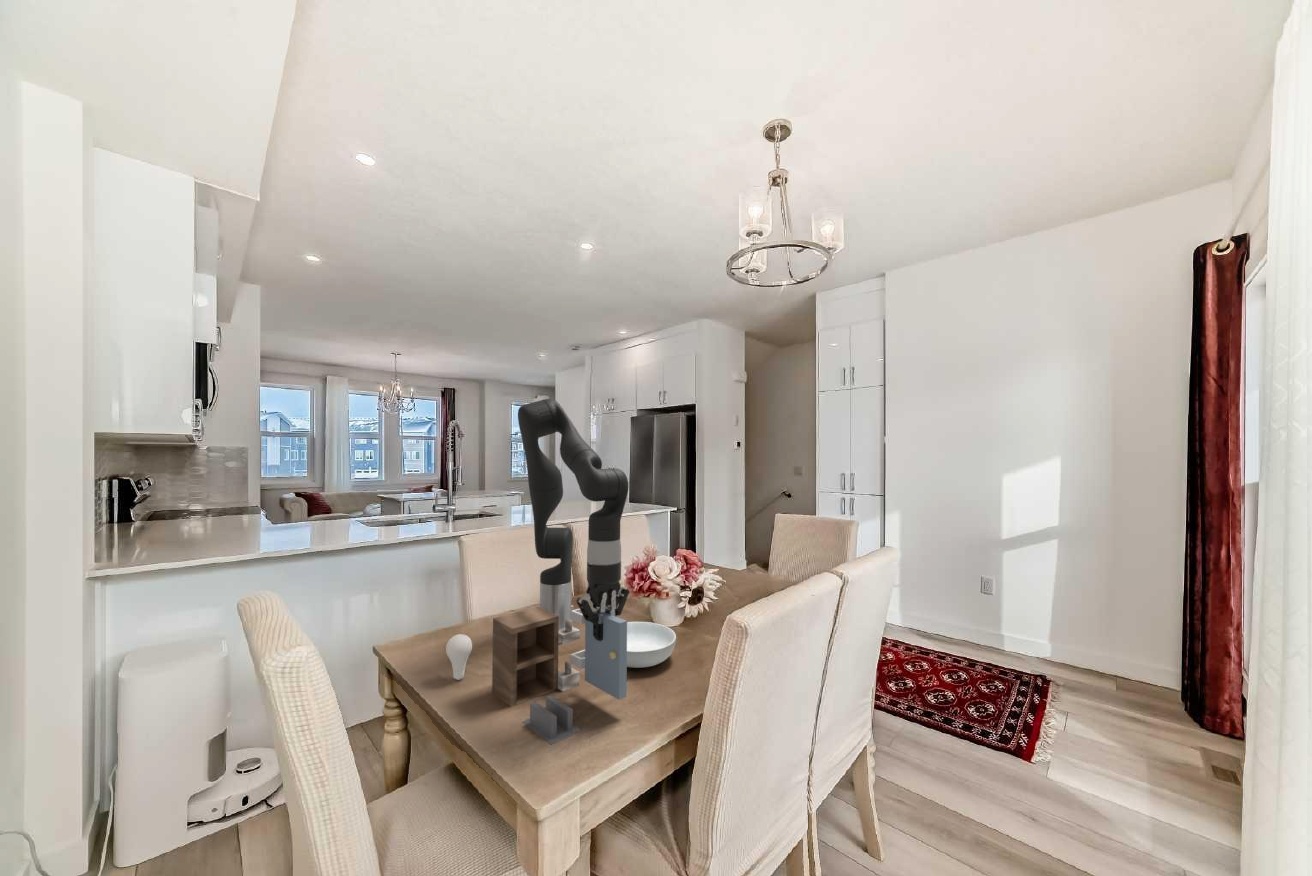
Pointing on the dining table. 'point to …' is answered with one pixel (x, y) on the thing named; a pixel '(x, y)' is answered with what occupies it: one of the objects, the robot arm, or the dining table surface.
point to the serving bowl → (648, 644)
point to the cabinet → (530, 655)
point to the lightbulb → (459, 653)
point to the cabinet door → (604, 655)
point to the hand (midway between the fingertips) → (603, 637)
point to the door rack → (551, 720)
